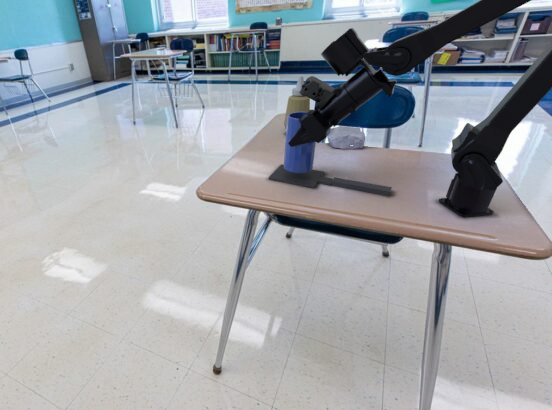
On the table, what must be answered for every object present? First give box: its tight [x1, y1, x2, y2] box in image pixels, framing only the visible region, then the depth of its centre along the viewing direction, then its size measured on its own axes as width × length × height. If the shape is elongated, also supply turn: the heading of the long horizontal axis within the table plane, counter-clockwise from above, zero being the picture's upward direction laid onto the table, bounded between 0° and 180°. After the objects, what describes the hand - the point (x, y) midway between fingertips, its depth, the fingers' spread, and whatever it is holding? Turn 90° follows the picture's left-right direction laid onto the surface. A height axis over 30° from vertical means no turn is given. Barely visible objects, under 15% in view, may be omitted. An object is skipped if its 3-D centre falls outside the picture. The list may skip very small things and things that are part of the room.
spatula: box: [268, 163, 393, 197], centre depth 77 cm, size 26×9×1 cm, turn 59°
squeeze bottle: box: [283, 75, 311, 130], centre depth 104 cm, size 8×8×18 cm
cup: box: [283, 112, 317, 173], centre depth 76 cm, size 7×7×12 cm
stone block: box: [326, 125, 366, 150], centre depth 99 cm, size 12×5×10 cm
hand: (294, 140), depth 76 cm, fingers closed on cup, 7 cm apart
